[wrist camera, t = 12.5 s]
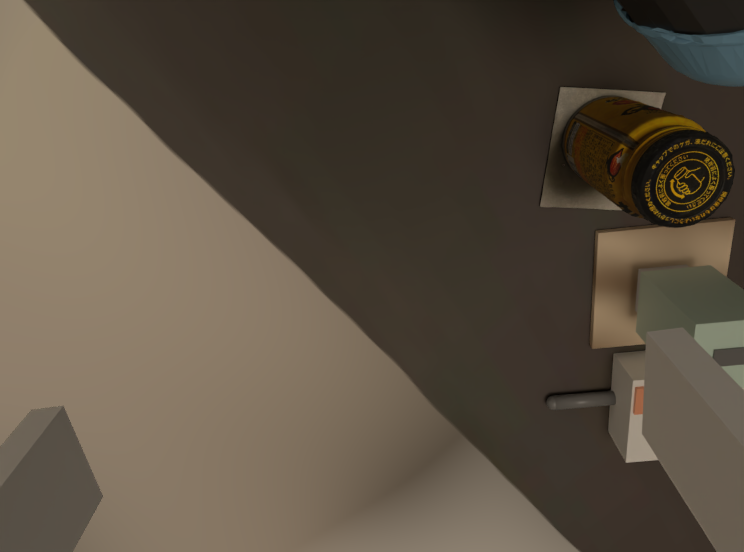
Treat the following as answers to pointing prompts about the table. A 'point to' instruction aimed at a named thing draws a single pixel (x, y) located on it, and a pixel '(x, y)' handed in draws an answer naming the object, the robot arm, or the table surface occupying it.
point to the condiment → (634, 158)
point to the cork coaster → (646, 250)
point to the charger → (695, 310)
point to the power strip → (618, 405)
